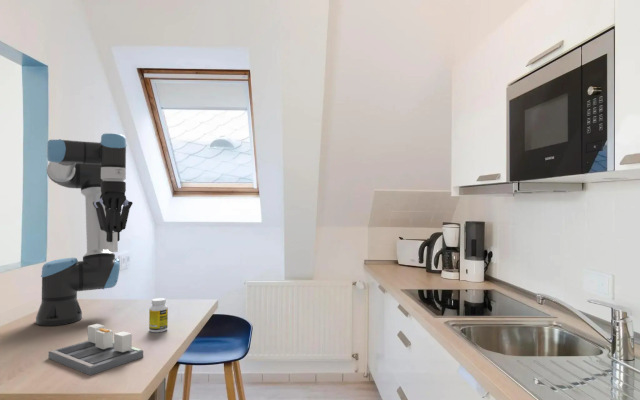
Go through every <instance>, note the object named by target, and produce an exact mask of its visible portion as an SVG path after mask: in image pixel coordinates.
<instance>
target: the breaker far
mask: <svg viewBox="0 0 640 400" xmlns="http://www.w3.org/2000/svg"><path fill="white" fill-rule="evenodd" d="M101 328H103V329H105V325H104V324H103V325H102V324H100V323H95V324H90V325H87V341H89V342H92V343H96V331H98V330H99V329H101Z"/></svg>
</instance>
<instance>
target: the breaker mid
mask: <svg viewBox="0 0 640 400" xmlns="http://www.w3.org/2000/svg"><path fill="white" fill-rule="evenodd" d="M113 341H114V331H113V330H112V329H108V328H104V329H103V328H101V329H99V330H98V331H96V347H98V348H101V349H106V348H109V347H113Z"/></svg>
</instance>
